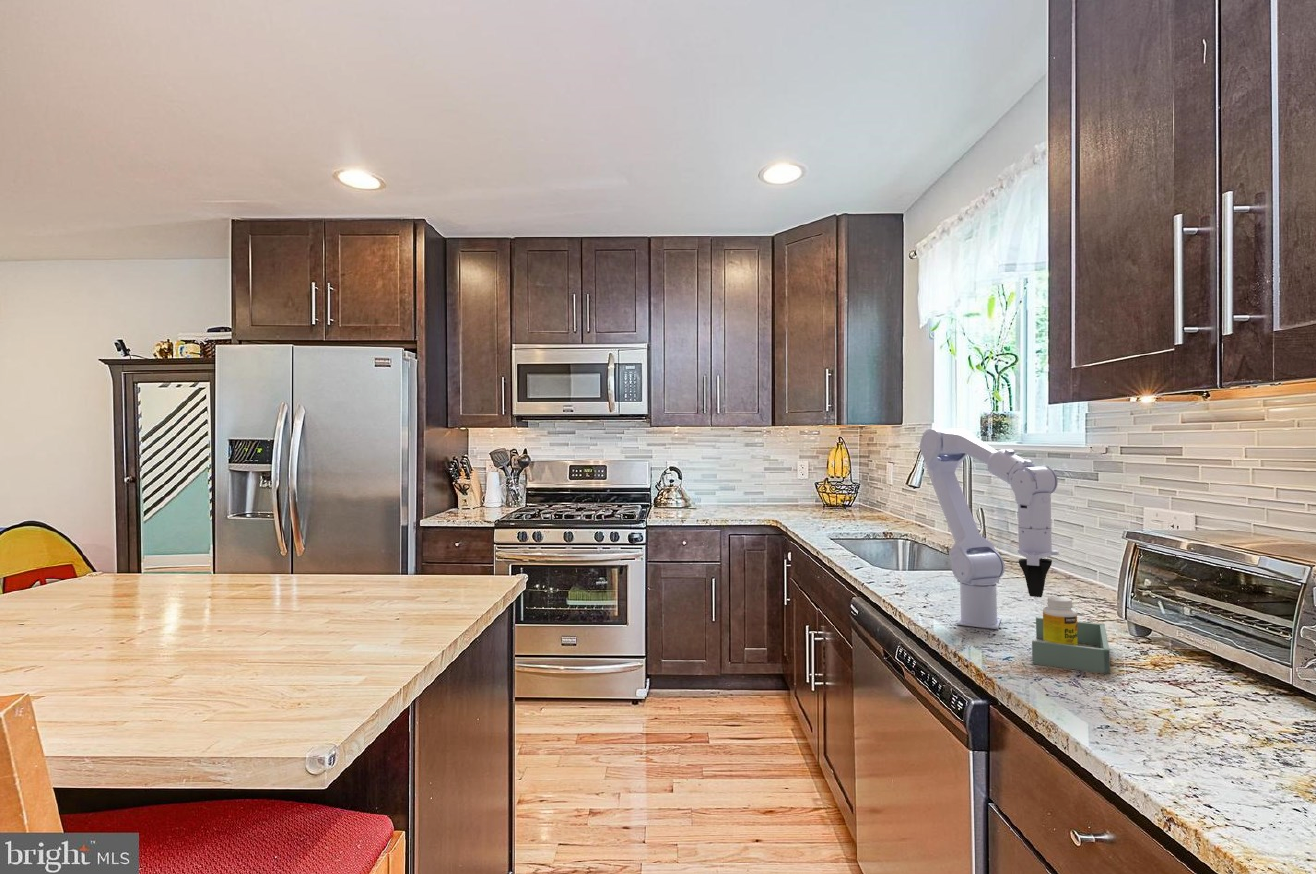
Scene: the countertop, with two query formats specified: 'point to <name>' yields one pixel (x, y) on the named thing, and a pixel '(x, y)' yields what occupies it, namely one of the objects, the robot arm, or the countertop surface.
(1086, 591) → the countertop surface
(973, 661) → the countertop surface
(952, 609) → the countertop surface
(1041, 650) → the u-shaped frame
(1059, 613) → the supplement bottle
